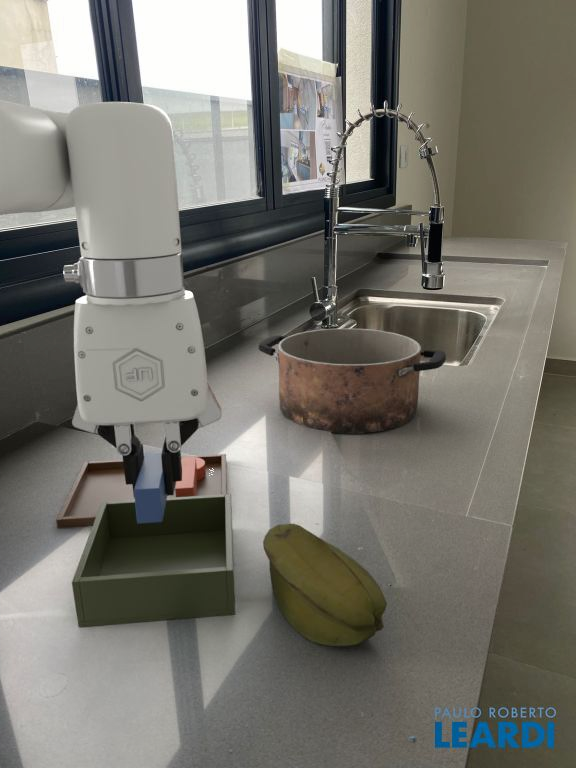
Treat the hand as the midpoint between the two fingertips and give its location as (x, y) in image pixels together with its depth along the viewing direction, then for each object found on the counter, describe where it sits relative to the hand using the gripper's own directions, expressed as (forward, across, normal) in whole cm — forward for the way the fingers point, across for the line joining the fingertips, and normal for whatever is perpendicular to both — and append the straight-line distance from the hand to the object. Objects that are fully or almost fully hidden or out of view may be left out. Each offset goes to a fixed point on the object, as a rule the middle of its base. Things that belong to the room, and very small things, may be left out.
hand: (155, 487), depth 53 cm
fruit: (+10, +14, -5) cm, 18 cm away
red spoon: (+10, +1, +18) cm, 20 cm away
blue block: (+1, 0, 0) cm, 1 cm away
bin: (+10, 0, +2) cm, 10 cm away
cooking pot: (+10, +26, +43) cm, 51 cm away
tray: (+10, -3, +18) cm, 21 cm away
